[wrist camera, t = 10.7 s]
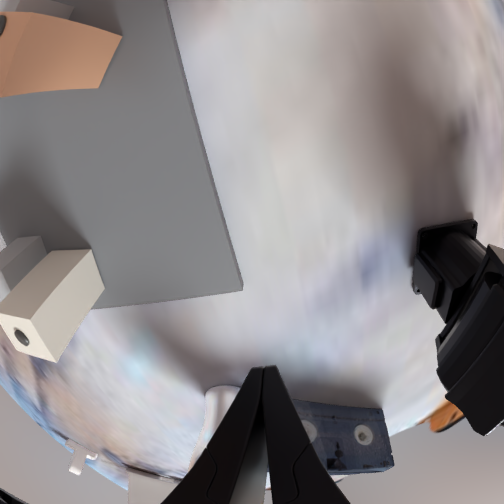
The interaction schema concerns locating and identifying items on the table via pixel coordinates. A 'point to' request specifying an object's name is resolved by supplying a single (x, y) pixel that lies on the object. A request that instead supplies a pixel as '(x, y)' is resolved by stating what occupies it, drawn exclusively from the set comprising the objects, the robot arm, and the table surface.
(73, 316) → the tile one
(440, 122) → the table surface
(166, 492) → the laptop
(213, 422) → the beer glass
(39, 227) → the console board
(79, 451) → the cable organizer
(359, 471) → the vhs cassette tape
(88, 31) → the tile two
